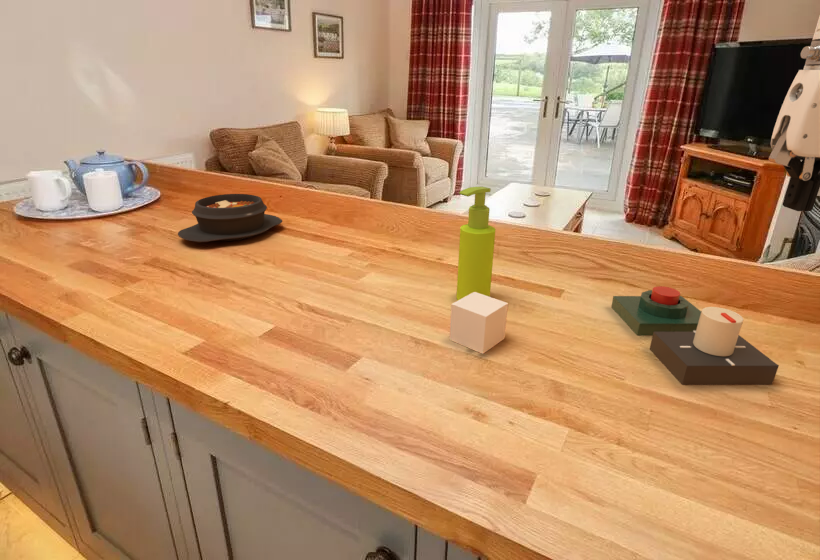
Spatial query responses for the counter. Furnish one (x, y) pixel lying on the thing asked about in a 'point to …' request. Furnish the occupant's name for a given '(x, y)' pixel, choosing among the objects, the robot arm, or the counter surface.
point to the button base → (655, 314)
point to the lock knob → (717, 331)
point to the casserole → (229, 218)
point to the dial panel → (712, 362)
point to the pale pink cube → (478, 321)
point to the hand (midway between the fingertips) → (796, 208)
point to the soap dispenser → (476, 247)
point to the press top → (665, 295)
